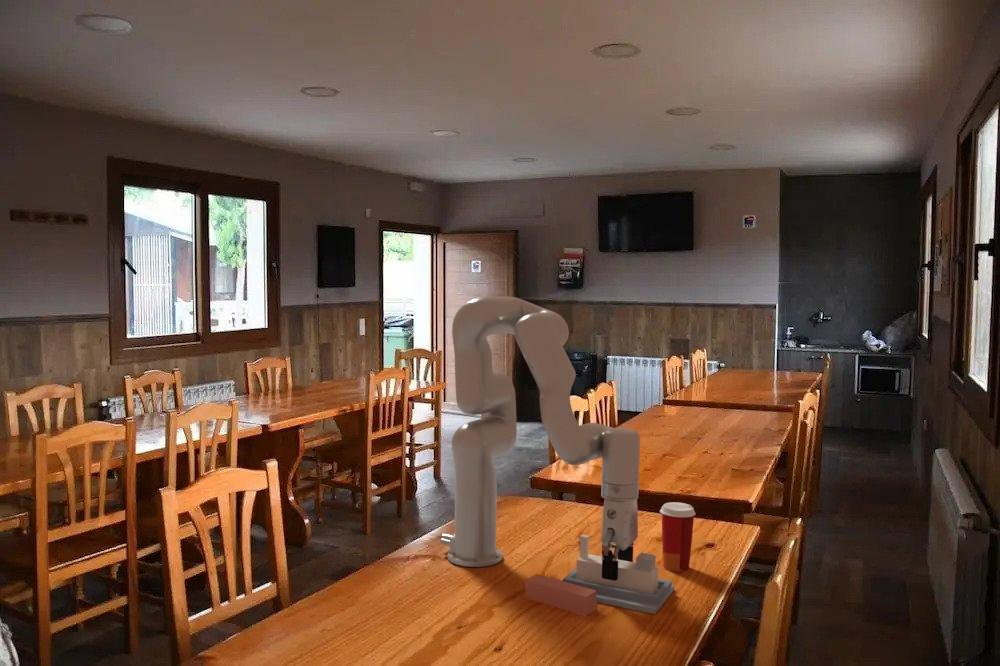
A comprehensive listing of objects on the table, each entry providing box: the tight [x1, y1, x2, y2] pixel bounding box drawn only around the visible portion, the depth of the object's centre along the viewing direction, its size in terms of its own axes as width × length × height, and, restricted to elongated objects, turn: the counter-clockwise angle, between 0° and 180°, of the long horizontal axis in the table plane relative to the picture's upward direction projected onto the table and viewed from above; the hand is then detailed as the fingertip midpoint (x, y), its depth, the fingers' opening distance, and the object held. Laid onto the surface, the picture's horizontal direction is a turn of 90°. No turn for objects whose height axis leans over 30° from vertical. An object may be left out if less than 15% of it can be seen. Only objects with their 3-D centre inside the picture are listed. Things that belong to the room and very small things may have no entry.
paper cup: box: [659, 501, 696, 573], centre depth 179 cm, size 8×8×14 cm
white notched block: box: [576, 534, 659, 594], centre depth 165 cm, size 16×4×10 cm, turn 63°
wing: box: [524, 573, 597, 617], centre depth 158 cm, size 14×4×4 cm, turn 54°
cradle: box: [562, 567, 675, 615], centre depth 165 cm, size 20×14×2 cm
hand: (617, 571), depth 165 cm, fingers open, 9 cm apart
